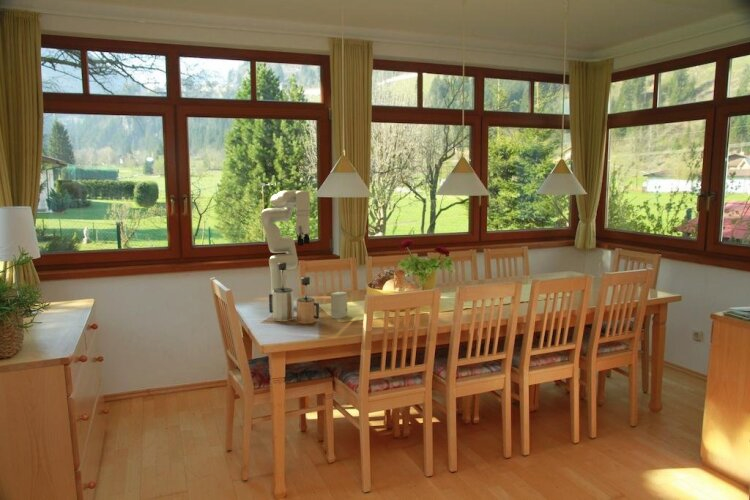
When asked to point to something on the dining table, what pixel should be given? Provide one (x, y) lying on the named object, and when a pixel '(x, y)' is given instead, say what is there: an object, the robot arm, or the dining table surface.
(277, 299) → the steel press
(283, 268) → the steel plunger
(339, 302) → the skincare box
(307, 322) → the copper press
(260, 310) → the dining table surface
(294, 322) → the walnut board
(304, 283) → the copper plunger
